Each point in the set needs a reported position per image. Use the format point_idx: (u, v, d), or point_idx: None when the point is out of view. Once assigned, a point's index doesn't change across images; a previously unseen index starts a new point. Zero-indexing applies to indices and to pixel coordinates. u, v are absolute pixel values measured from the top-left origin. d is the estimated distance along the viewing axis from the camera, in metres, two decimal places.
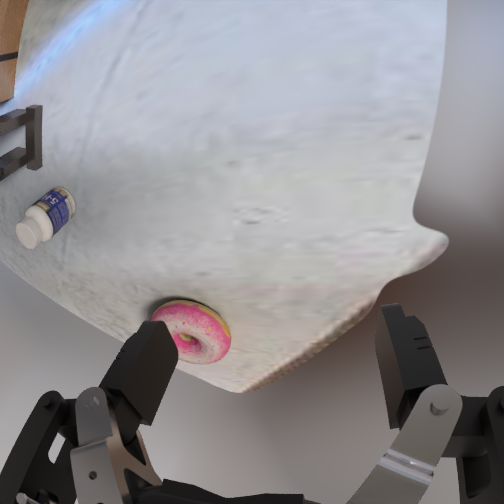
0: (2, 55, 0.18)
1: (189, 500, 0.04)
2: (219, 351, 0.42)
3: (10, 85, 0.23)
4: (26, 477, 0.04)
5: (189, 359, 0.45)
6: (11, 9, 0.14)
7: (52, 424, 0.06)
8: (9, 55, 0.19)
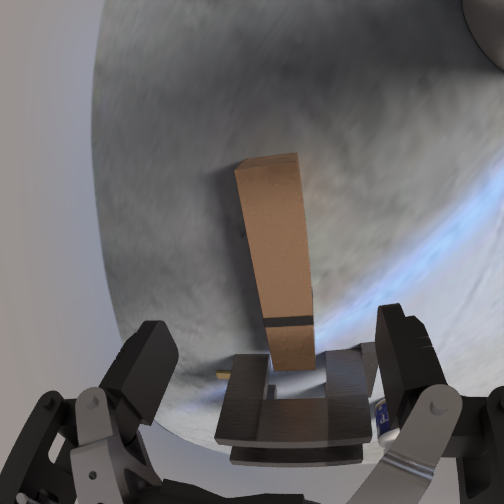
0: (312, 309, 0.23)
1: (189, 500, 0.04)
2: None
3: None
4: (26, 477, 0.04)
5: None
6: (306, 235, 0.20)
7: (52, 424, 0.06)
8: (312, 301, 0.25)
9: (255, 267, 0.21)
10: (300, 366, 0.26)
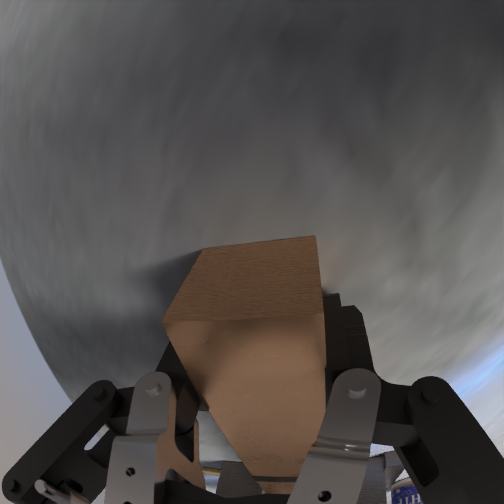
0: None
1: (189, 500, 0.04)
2: None
3: None
4: (52, 465, 0.05)
5: None
6: None
7: (96, 419, 0.06)
8: None
9: (234, 444, 0.10)
10: None
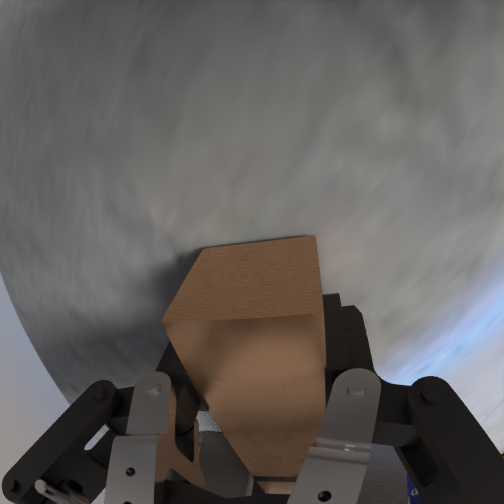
0: None
1: (189, 500, 0.04)
2: None
3: None
4: (52, 465, 0.05)
5: None
6: None
7: (96, 419, 0.06)
8: None
9: (234, 444, 0.10)
10: None
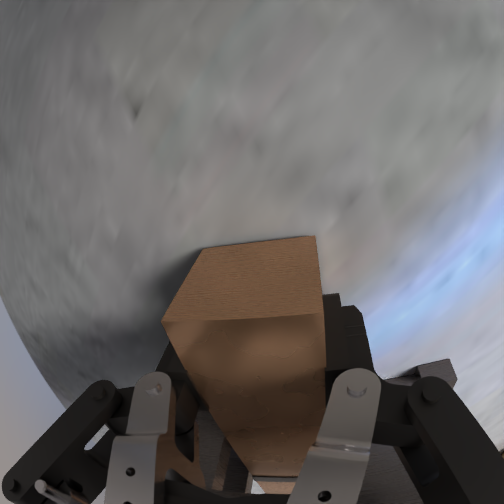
0: None
1: (189, 500, 0.04)
2: None
3: None
4: (52, 466, 0.05)
5: None
6: None
7: (96, 419, 0.06)
8: None
9: (234, 444, 0.10)
10: None
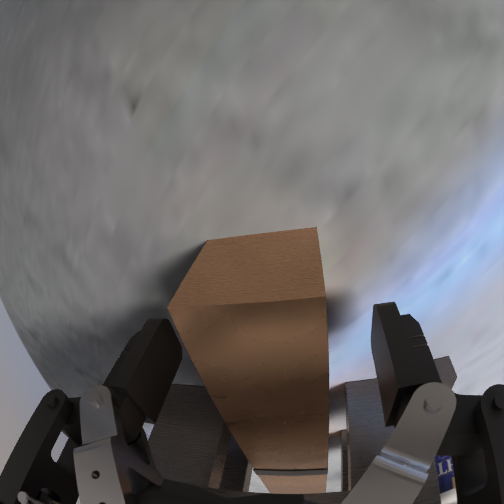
0: None
1: (189, 500, 0.04)
2: None
3: None
4: (28, 476, 0.04)
5: None
6: None
7: (55, 423, 0.06)
8: None
9: (236, 435, 0.10)
10: (306, 493, 0.15)
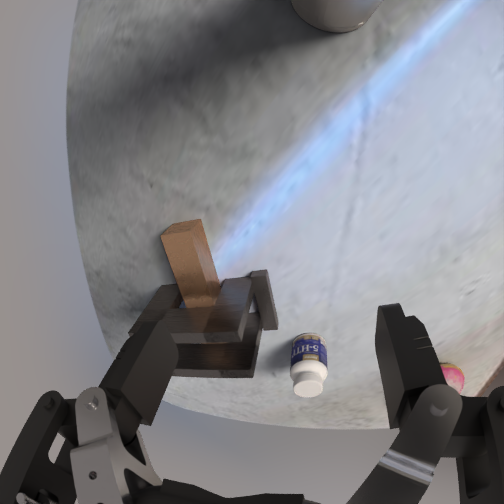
0: None
1: (189, 500, 0.04)
2: (460, 389, 0.38)
3: None
4: (26, 477, 0.04)
5: None
6: (205, 268, 0.35)
7: (52, 424, 0.06)
8: None
9: (179, 287, 0.36)
10: None
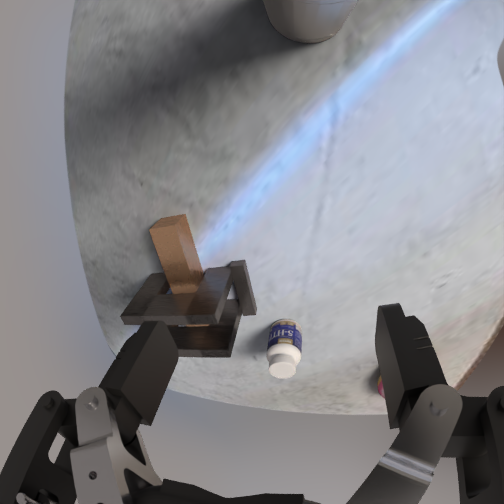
0: None
1: (189, 500, 0.04)
2: None
3: None
4: (26, 477, 0.04)
5: None
6: (189, 258, 0.39)
7: (52, 424, 0.06)
8: None
9: (166, 275, 0.40)
10: None
